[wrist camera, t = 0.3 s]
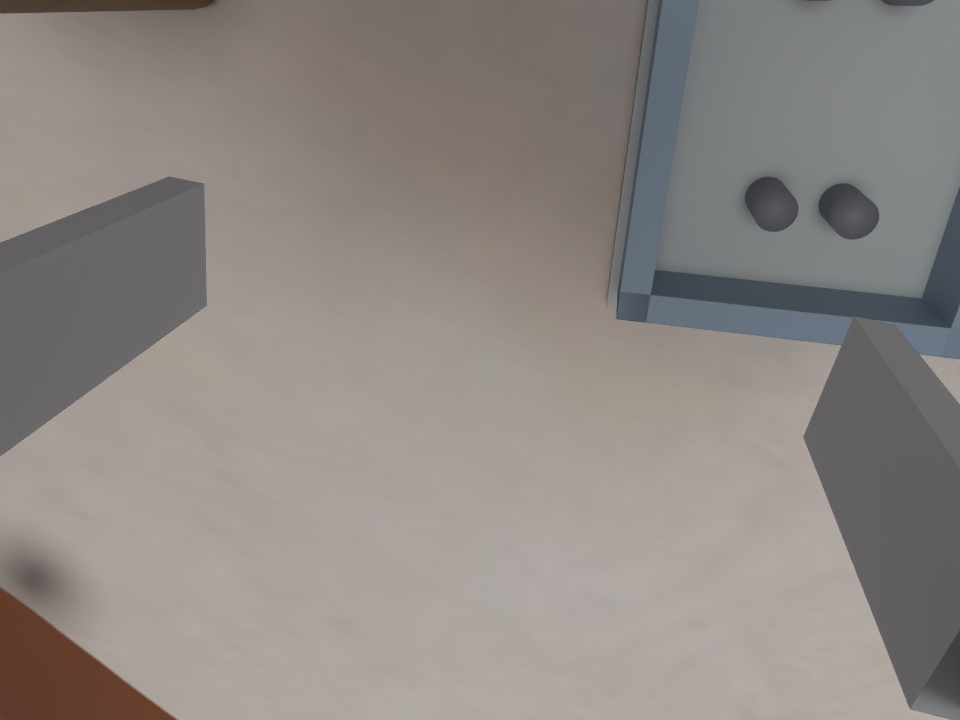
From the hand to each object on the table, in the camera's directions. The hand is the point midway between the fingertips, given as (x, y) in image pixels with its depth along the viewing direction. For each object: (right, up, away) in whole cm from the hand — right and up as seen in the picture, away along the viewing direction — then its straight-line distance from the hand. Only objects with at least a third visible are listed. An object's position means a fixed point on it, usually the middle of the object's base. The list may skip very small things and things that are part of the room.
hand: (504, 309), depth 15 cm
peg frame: (+16, +12, +21) cm, 29 cm away
